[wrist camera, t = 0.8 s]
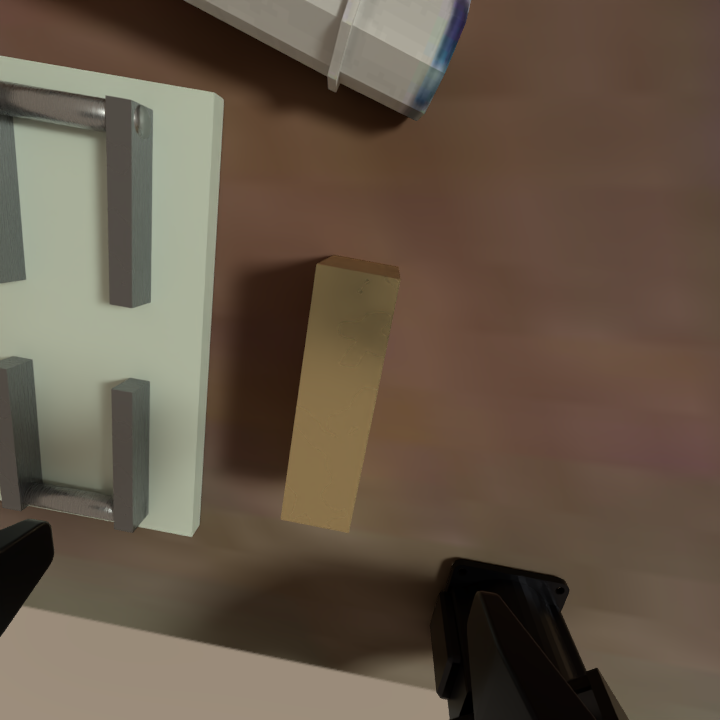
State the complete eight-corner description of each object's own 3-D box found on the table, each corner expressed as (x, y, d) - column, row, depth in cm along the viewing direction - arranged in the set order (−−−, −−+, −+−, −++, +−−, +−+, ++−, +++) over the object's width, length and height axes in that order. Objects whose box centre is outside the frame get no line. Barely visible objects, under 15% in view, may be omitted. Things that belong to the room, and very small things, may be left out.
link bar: (398, 266, 20) (400, 279, 15) (357, 469, 23) (348, 532, 18) (334, 254, 20) (316, 263, 15) (303, 458, 23) (280, 519, 18)
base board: (224, 99, 18) (214, 92, 17) (199, 524, 25) (191, 536, 24) (-52, 52, 18) (-77, 42, 17) (0, 486, 25) (-16, 497, 24)
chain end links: (153, 110, 17) (131, 99, 16) (148, 513, 23) (132, 532, 22) (-14, 81, 17) (-50, 68, 16) (26, 490, 24) (2, 507, 22)
